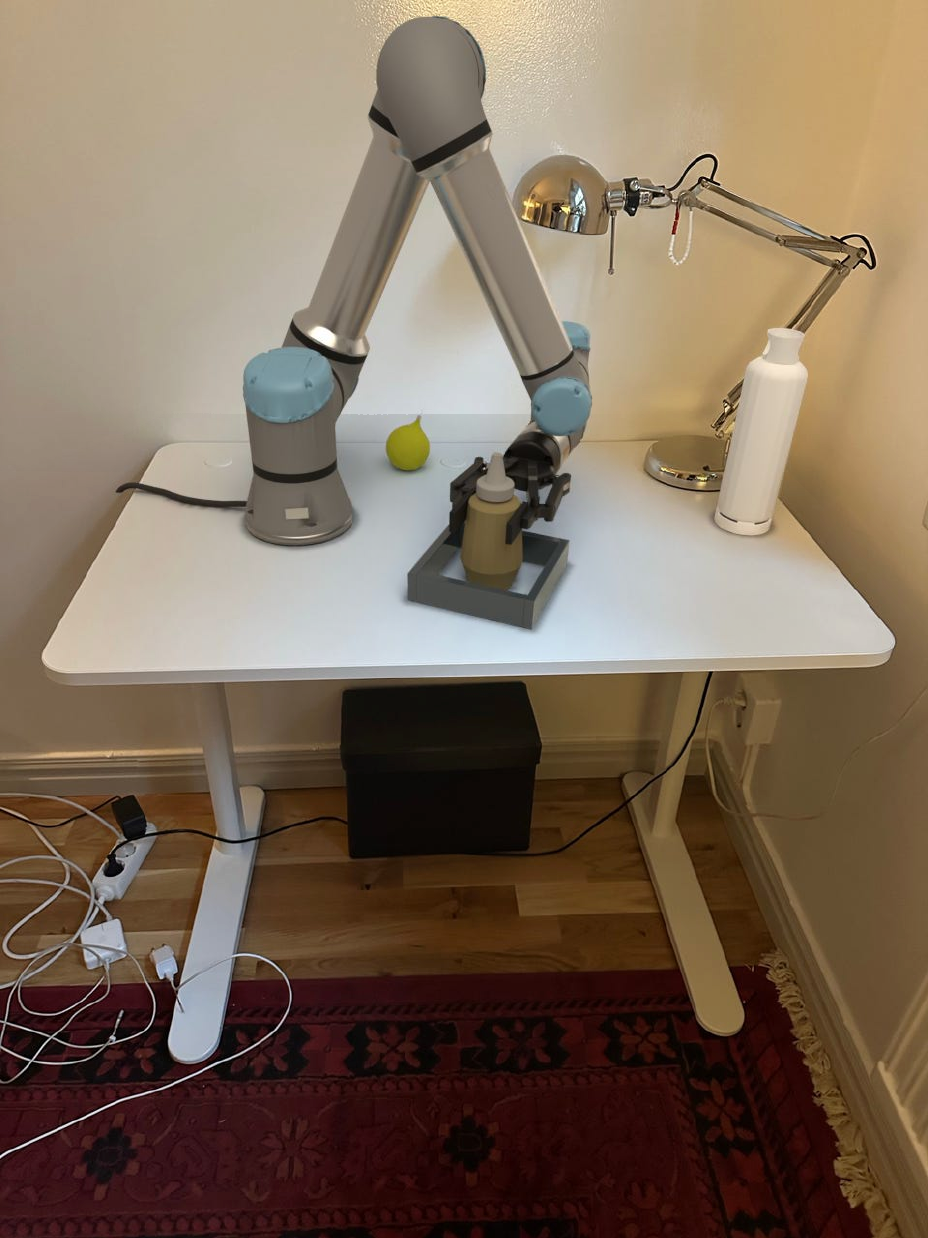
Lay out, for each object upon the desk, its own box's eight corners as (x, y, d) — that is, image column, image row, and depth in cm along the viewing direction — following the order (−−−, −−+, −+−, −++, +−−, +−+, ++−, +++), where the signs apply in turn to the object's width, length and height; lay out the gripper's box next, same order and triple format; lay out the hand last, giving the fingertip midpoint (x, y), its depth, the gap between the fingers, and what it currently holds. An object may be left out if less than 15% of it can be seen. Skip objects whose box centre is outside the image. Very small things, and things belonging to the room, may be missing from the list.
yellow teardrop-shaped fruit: (438, 468, 144) (439, 410, 138) (406, 481, 140) (406, 421, 134) (409, 455, 148) (408, 397, 142) (377, 467, 144) (375, 408, 138)
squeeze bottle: (446, 582, 115) (449, 453, 105) (487, 560, 120) (494, 435, 110) (492, 606, 111) (500, 474, 100) (533, 582, 116) (544, 454, 105)
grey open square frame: (407, 600, 111) (407, 573, 109) (454, 541, 124) (455, 516, 122) (531, 629, 107) (534, 601, 104) (567, 565, 119) (569, 539, 117)
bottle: (772, 538, 128) (822, 344, 112) (715, 531, 129) (756, 339, 113) (767, 513, 134) (814, 327, 118) (713, 507, 135) (752, 321, 120)
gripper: (600, 493, 123) (555, 572, 105) (469, 469, 128) (405, 539, 110) (607, 442, 119) (561, 515, 101) (471, 419, 124) (405, 485, 106)
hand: (480, 528), depth 105 cm, fingers closed on squeeze bottle, 6 cm apart
